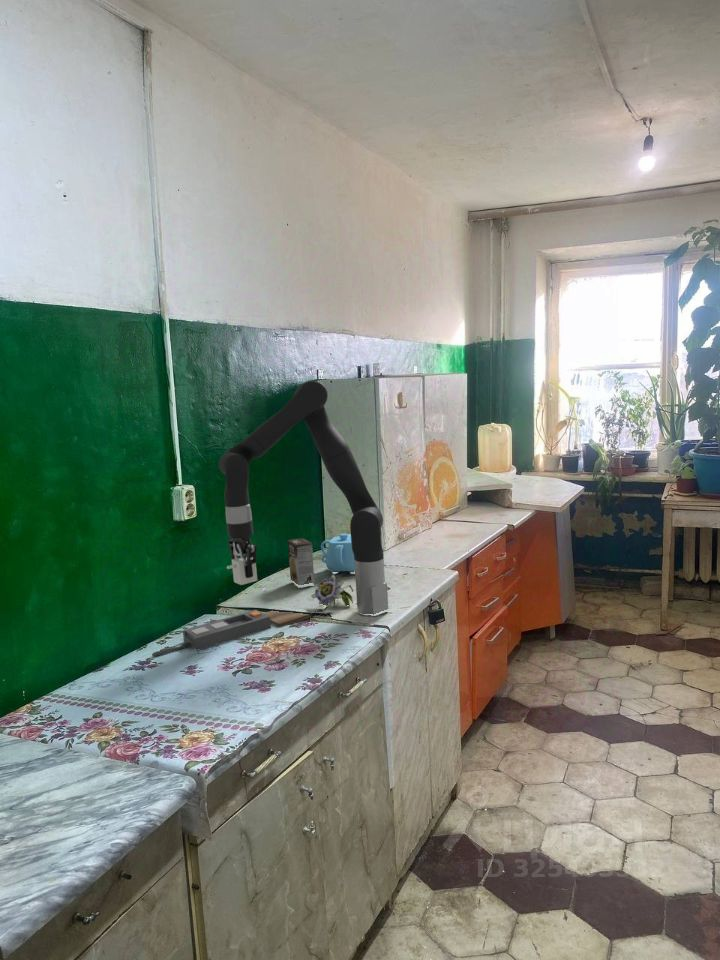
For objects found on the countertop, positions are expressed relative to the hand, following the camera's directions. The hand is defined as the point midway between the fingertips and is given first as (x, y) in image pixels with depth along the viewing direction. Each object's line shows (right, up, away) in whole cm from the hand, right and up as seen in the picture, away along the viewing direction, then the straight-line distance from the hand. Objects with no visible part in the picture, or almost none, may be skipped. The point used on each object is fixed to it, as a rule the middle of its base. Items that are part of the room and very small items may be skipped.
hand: (245, 575), depth 205 cm
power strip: (-9, -18, -4) cm, 21 cm away
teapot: (+30, -6, +57) cm, 65 cm away
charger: (-1, -2, -1) cm, 2 cm away
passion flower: (+26, -13, +19) cm, 35 cm away
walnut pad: (+11, -15, +11) cm, 21 cm away
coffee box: (+14, -10, +44) cm, 47 cm away
